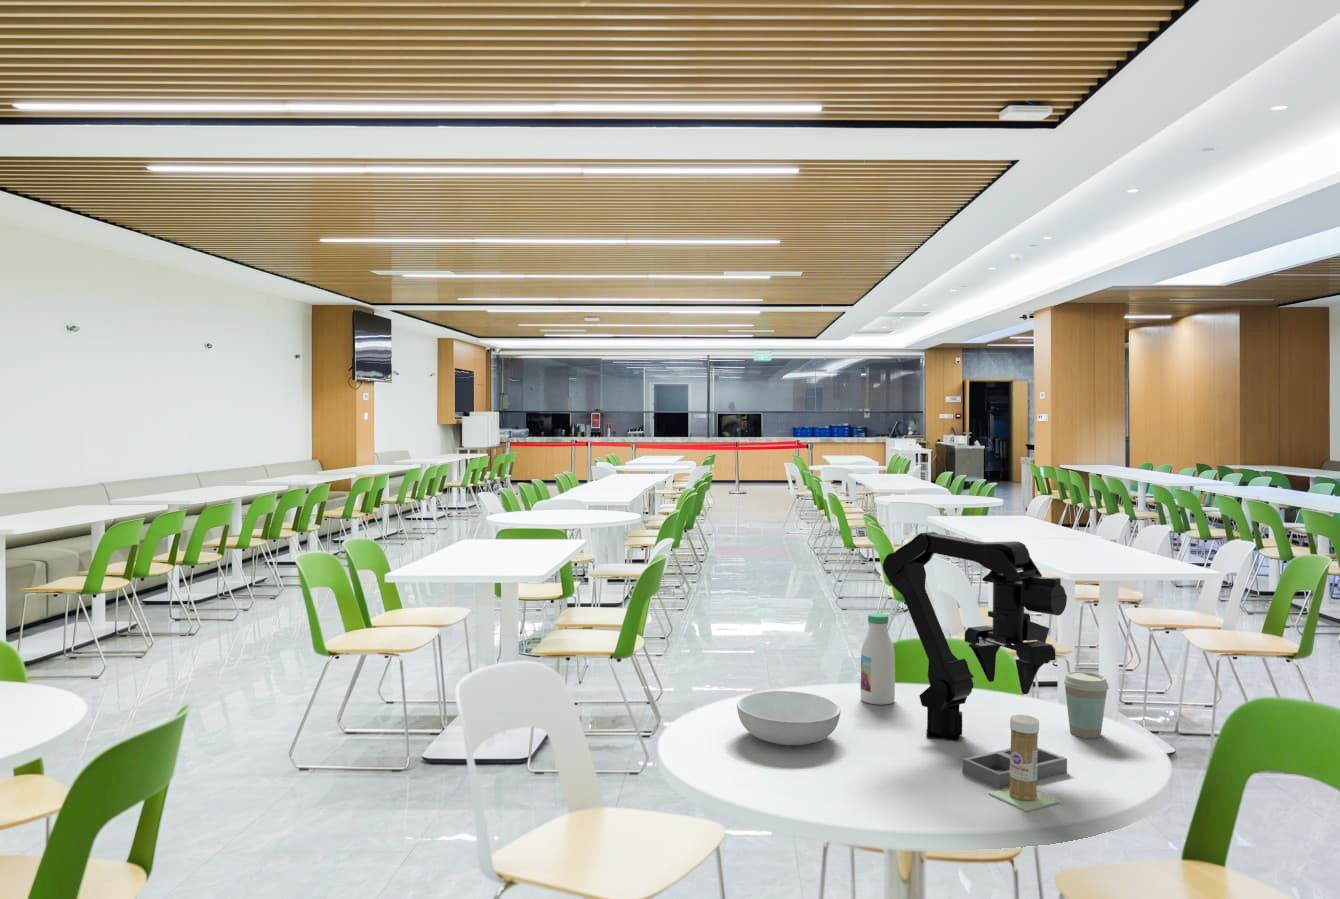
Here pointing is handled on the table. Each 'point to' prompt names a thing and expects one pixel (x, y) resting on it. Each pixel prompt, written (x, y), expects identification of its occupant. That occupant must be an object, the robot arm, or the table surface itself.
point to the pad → (1027, 806)
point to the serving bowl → (788, 716)
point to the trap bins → (997, 766)
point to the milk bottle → (877, 663)
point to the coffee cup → (1085, 702)
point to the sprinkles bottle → (1023, 757)
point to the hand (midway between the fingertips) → (1007, 687)
